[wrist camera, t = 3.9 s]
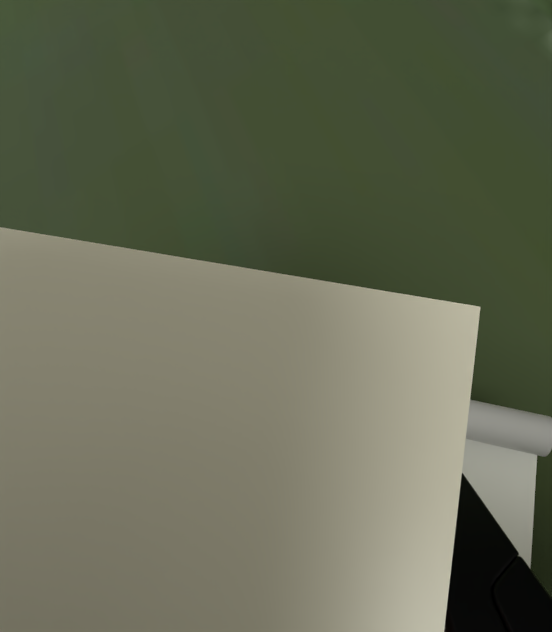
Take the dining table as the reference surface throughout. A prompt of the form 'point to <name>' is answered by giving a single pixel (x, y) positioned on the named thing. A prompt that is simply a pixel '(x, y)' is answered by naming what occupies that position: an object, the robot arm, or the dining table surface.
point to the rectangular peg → (223, 446)
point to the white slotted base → (506, 465)
